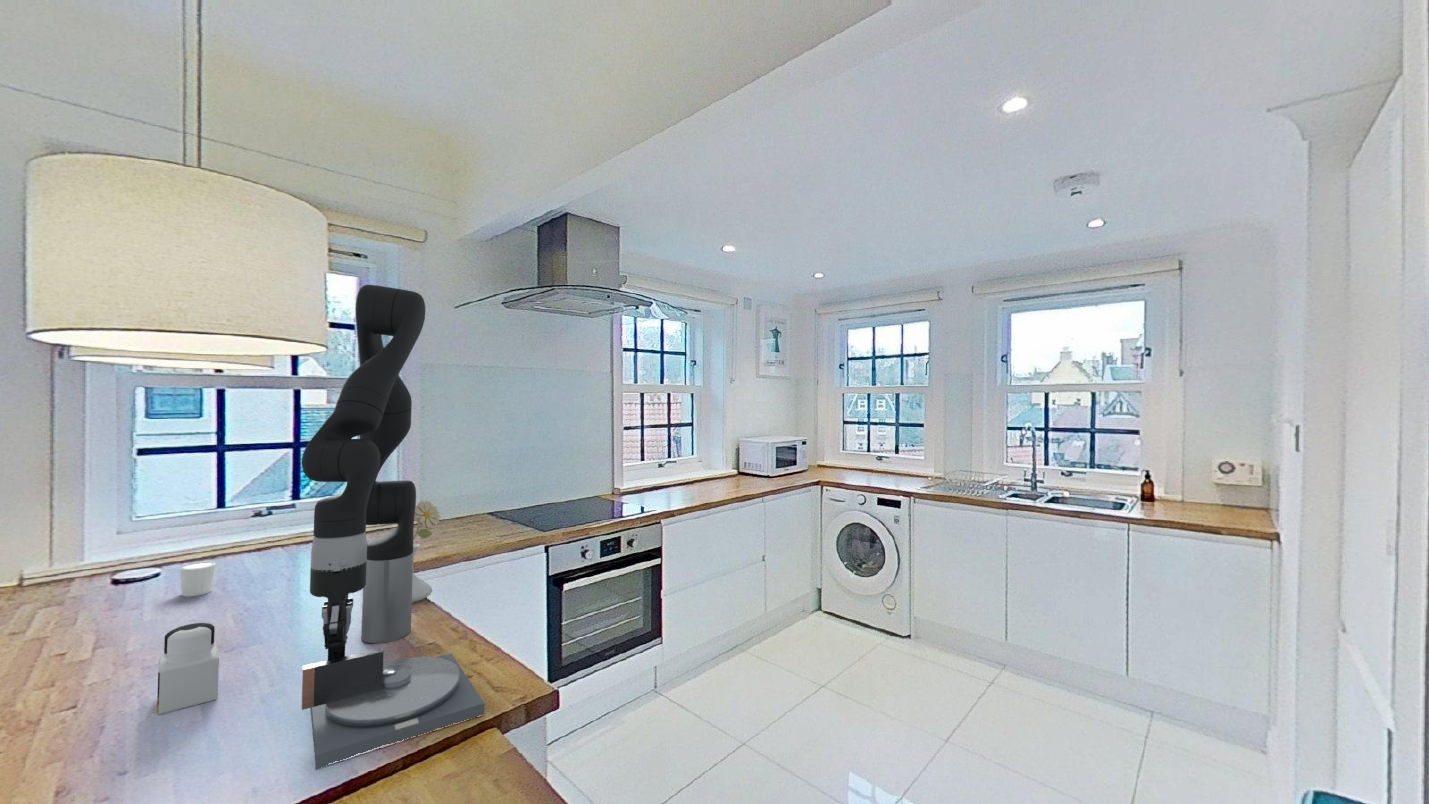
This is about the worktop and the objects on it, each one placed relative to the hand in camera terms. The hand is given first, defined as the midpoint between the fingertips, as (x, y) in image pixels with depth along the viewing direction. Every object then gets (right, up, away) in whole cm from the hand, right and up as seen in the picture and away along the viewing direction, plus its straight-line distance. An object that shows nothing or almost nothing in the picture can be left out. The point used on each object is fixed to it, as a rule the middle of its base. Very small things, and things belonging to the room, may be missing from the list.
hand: (336, 668), depth 88 cm
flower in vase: (-17, -8, +51) cm, 54 cm away
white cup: (-73, -6, +52) cm, 90 cm away
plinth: (+9, -7, +2) cm, 11 cm away
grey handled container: (-27, -7, +3) cm, 28 cm away
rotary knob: (+7, -5, +1) cm, 9 cm away
